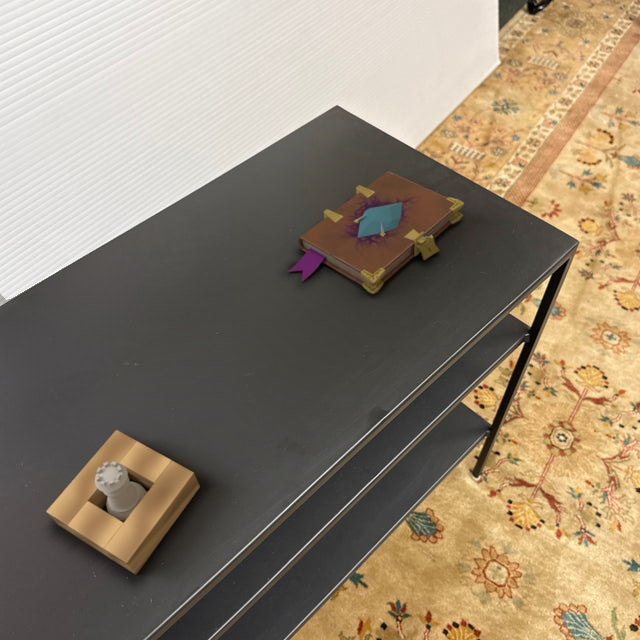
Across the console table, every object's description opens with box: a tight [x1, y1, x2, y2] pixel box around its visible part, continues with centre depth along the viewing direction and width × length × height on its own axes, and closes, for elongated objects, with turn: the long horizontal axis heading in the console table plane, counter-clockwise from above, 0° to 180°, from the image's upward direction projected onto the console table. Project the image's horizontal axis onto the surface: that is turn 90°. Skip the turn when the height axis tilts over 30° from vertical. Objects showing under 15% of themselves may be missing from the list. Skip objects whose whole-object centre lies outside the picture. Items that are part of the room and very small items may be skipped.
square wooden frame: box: [45, 429, 200, 575], centre depth 69 cm, size 11×11×4 cm
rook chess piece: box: [95, 461, 148, 523], centre depth 67 cm, size 4×4×8 cm
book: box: [286, 170, 465, 295], centre depth 92 cm, size 16×25×5 cm, turn 137°
